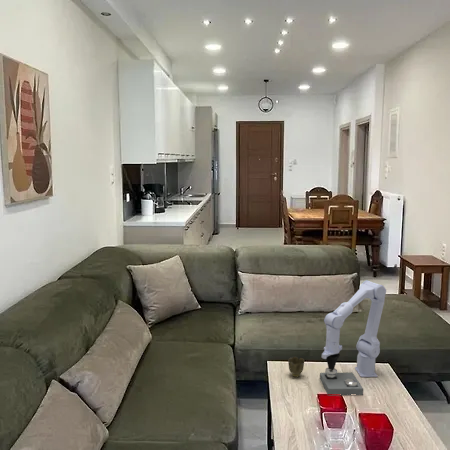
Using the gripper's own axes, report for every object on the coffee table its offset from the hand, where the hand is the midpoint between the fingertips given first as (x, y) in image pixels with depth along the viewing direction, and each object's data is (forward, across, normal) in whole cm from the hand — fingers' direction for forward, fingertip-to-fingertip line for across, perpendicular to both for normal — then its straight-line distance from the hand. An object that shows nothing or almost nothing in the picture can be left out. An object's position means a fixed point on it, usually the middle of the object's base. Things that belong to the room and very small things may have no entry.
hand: (331, 369), depth 210 cm
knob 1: (+4, 0, 0) cm, 4 cm away
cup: (+7, +5, -15) cm, 17 cm away
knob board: (+7, 0, +5) cm, 8 cm away
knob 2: (+6, 0, +10) cm, 12 cm away
